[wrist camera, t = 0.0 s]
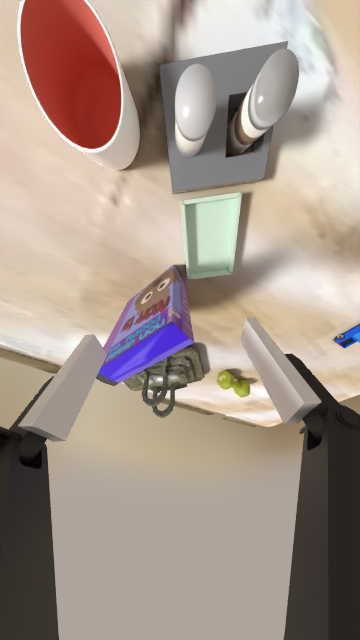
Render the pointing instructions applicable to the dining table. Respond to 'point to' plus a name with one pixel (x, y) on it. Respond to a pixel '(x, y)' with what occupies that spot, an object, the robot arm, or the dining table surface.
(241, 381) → the dumbbell
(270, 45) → the fuse holder block
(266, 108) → the cylinder
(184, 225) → the parts tray
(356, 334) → the toy car
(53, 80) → the cup
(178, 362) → the metal base with loops
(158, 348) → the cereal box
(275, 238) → the dining table surface
